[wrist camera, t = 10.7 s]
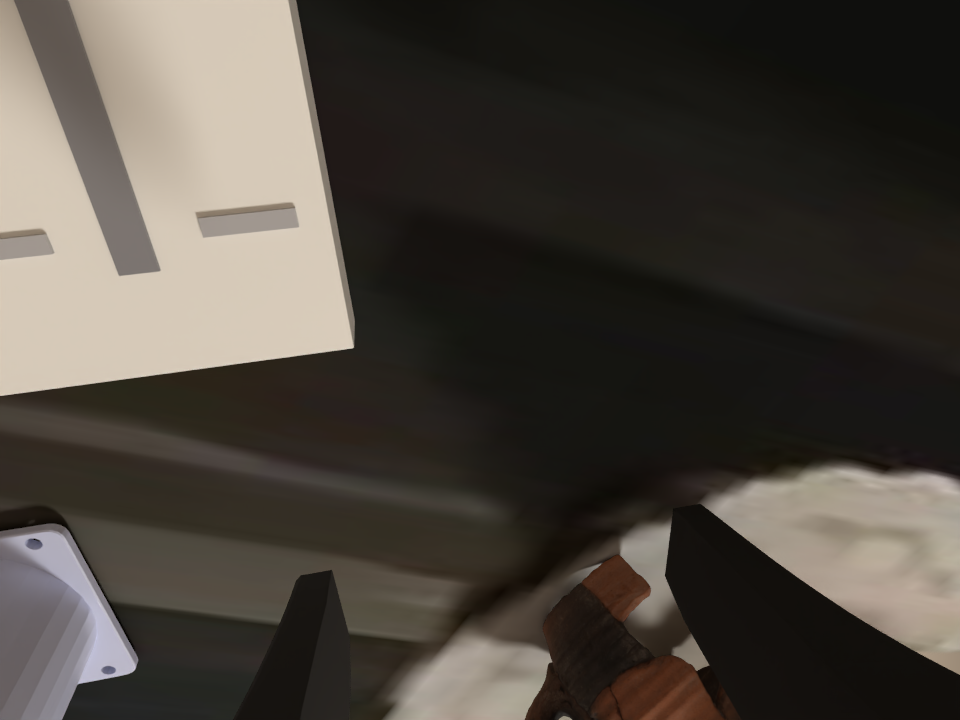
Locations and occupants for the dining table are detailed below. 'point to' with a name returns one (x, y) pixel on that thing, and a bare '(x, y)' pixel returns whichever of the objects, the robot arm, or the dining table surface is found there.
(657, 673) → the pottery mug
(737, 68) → the dining table surface
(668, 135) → the dining table surface
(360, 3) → the dining table surface
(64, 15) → the console board
